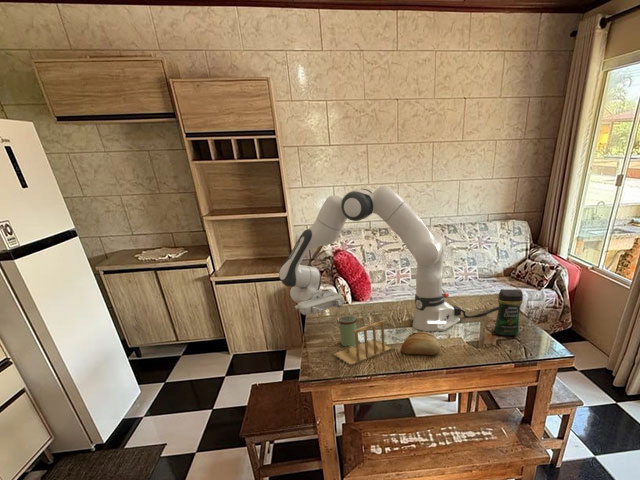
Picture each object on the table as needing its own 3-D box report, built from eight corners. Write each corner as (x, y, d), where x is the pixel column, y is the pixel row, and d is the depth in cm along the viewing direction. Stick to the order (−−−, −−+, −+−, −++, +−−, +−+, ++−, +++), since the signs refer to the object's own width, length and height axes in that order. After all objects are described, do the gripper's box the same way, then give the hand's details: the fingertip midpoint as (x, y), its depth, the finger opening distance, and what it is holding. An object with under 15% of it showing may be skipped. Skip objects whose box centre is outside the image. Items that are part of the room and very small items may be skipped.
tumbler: (351, 339, 170) (349, 314, 165) (361, 344, 166) (359, 319, 160) (338, 344, 167) (335, 319, 161) (347, 349, 162) (345, 323, 156)
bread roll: (401, 348, 161) (401, 329, 157) (439, 347, 160) (440, 328, 156) (401, 359, 153) (400, 339, 149) (441, 358, 152) (441, 339, 148)
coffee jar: (495, 336, 168) (500, 292, 158) (493, 329, 174) (497, 286, 165) (519, 336, 166) (525, 292, 157) (516, 329, 173) (522, 286, 164)
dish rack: (373, 340, 168) (371, 310, 162) (392, 349, 160) (391, 318, 154) (332, 355, 157) (329, 324, 151) (350, 366, 149) (347, 333, 143)
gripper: (291, 299, 171) (308, 307, 161) (332, 288, 182) (350, 295, 172) (293, 313, 174) (310, 322, 164) (334, 302, 185) (351, 309, 175)
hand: (331, 308), depth 168 cm, fingers open, 8 cm apart
